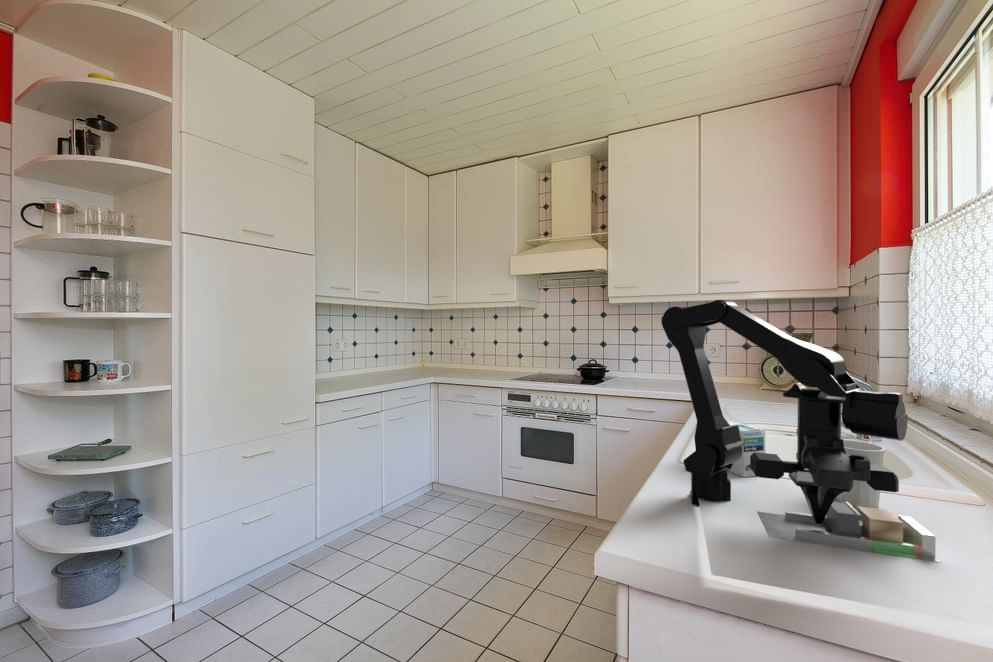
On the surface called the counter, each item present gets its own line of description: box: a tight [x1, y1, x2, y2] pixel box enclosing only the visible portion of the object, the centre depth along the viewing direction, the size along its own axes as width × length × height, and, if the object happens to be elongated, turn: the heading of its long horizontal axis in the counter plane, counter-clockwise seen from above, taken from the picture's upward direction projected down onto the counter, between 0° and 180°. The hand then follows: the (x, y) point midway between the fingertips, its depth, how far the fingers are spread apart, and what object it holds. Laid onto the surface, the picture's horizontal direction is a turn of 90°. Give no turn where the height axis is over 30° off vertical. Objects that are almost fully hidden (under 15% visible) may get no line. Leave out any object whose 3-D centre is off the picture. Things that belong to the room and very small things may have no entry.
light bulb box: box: [726, 420, 766, 478], centre depth 105 cm, size 11×7×11 cm, turn 17°
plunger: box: [826, 500, 862, 537], centre depth 69 cm, size 3×6×4 cm, turn 158°
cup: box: [835, 439, 886, 509], centre depth 83 cm, size 8×8×12 cm
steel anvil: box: [897, 514, 937, 557], centre depth 67 cm, size 2×7×3 cm, turn 159°
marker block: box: [856, 506, 903, 543], centre depth 68 cm, size 4×5×4 cm
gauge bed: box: [757, 510, 942, 563], centre depth 70 cm, size 21×10×2 cm, turn 69°
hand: (818, 523), depth 71 cm, fingers closed
